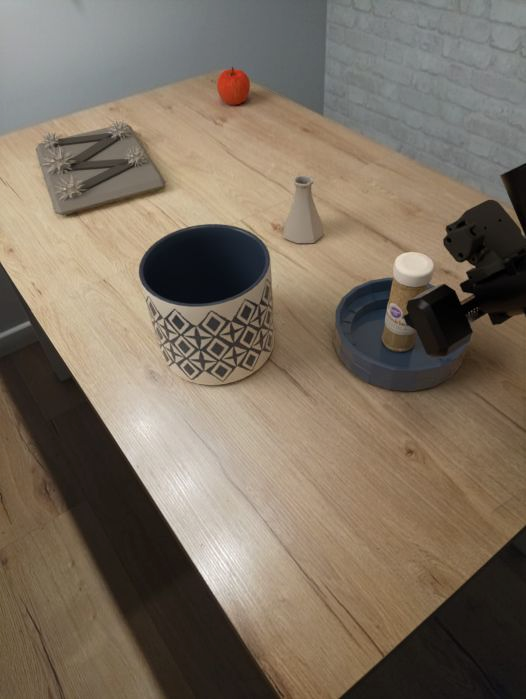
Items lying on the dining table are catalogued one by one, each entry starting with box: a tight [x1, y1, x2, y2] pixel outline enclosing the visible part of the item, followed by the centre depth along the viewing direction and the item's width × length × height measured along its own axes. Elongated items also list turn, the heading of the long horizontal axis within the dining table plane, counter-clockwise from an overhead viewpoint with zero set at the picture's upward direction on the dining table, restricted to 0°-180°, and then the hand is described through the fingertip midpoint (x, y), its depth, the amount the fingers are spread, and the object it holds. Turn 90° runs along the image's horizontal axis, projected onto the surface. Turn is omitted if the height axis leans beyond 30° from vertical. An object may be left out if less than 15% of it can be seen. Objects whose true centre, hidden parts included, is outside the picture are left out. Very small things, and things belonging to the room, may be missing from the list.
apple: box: [216, 66, 251, 106], centre depth 125 cm, size 8×8×8 cm
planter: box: [138, 223, 275, 386], centre depth 67 cm, size 16×16×14 cm
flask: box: [282, 174, 325, 244], centre depth 85 cm, size 7×7×10 cm
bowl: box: [333, 277, 472, 392], centre depth 69 cm, size 17×17×4 cm
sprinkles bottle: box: [382, 251, 435, 352], centre depth 65 cm, size 5×5×14 cm
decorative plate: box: [34, 118, 168, 217], centre depth 105 cm, size 30×22×7 cm
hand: (434, 303), depth 60 cm, fingers open, 9 cm apart
